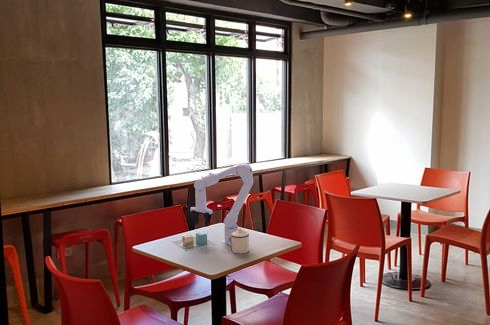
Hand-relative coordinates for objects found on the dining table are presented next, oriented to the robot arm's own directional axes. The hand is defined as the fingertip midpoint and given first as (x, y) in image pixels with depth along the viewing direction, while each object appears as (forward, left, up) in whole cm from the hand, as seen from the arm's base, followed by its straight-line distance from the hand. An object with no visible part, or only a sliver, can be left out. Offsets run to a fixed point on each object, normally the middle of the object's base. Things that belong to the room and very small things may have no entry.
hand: (201, 225), depth 250 cm
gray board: (-1, +5, -10) cm, 11 cm away
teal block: (-2, +1, -9) cm, 9 cm away
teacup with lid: (-24, -9, -10) cm, 27 cm away
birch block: (-2, +9, -9) cm, 13 cm away
